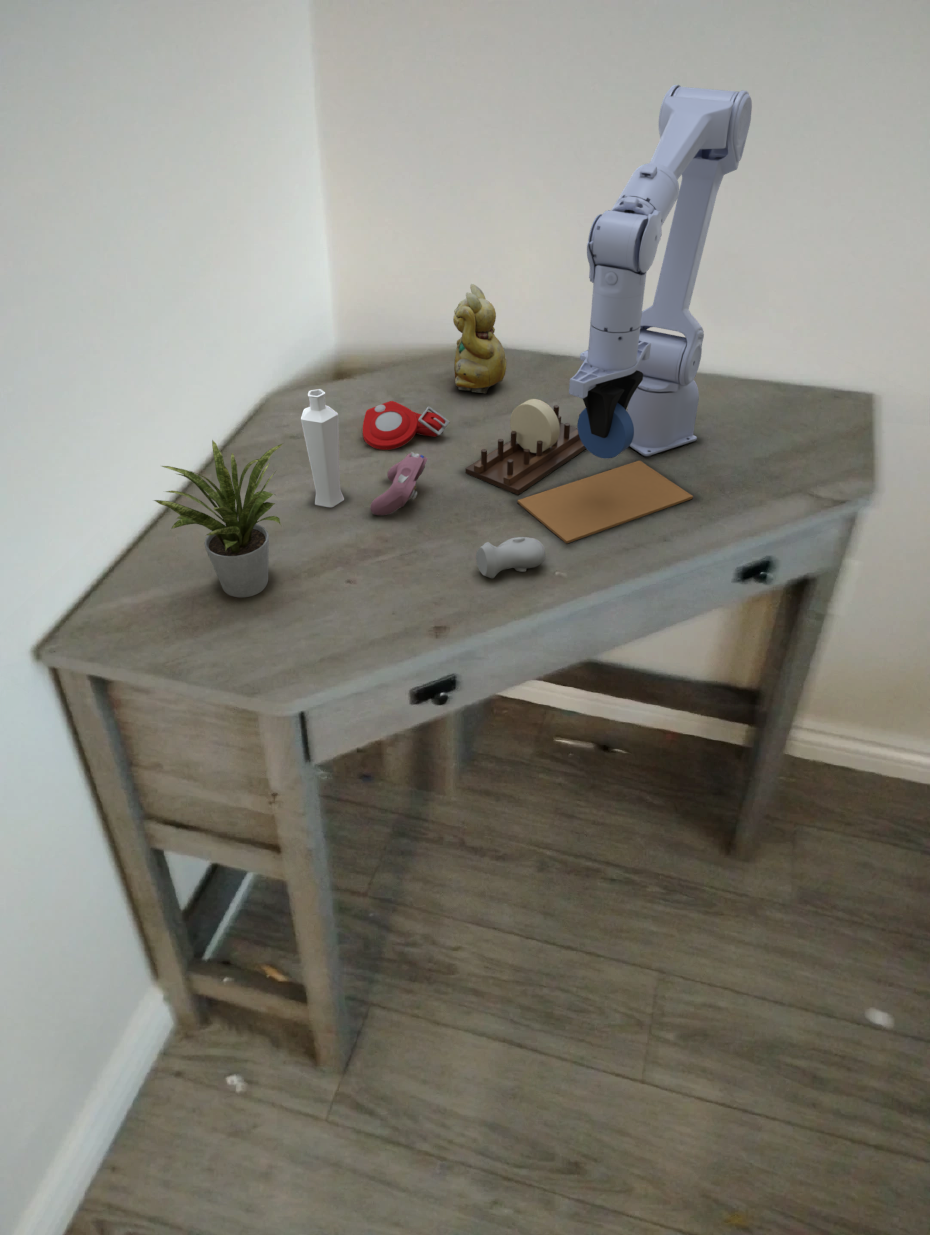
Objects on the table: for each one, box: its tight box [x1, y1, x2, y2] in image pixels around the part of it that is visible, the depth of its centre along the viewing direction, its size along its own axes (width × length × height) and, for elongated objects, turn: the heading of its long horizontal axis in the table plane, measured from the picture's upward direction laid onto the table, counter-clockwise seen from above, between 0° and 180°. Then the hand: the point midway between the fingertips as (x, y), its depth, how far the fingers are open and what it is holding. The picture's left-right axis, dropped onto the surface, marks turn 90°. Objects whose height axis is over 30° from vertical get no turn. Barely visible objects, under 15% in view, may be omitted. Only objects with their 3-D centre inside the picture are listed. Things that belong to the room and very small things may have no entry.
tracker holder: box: [362, 400, 450, 451], centre depth 135 cm, size 12×4×10 cm
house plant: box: [152, 439, 285, 598], centre depth 103 cm, size 14×14×16 cm
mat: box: [517, 460, 694, 544], centre depth 121 cm, size 20×11×1 cm, turn 120°
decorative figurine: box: [452, 283, 507, 394], centre depth 143 cm, size 10×8×15 cm
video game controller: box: [369, 450, 429, 516], centre depth 120 cm, size 10×5×7 cm, turn 168°
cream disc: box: [509, 398, 560, 453], centre depth 127 cm, size 2×7×7 cm, turn 50°
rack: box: [464, 404, 587, 496], centre depth 129 cm, size 19×9×4 cm, turn 140°
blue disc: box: [576, 403, 634, 460], centre depth 115 cm, size 2×7×7 cm, turn 50°
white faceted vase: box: [300, 388, 345, 508], centre depth 117 cm, size 5×4×15 cm
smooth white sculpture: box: [475, 536, 546, 579], centre depth 108 cm, size 4×8×5 cm
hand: (605, 431), depth 115 cm, fingers closed on blue disc, 2 cm apart
